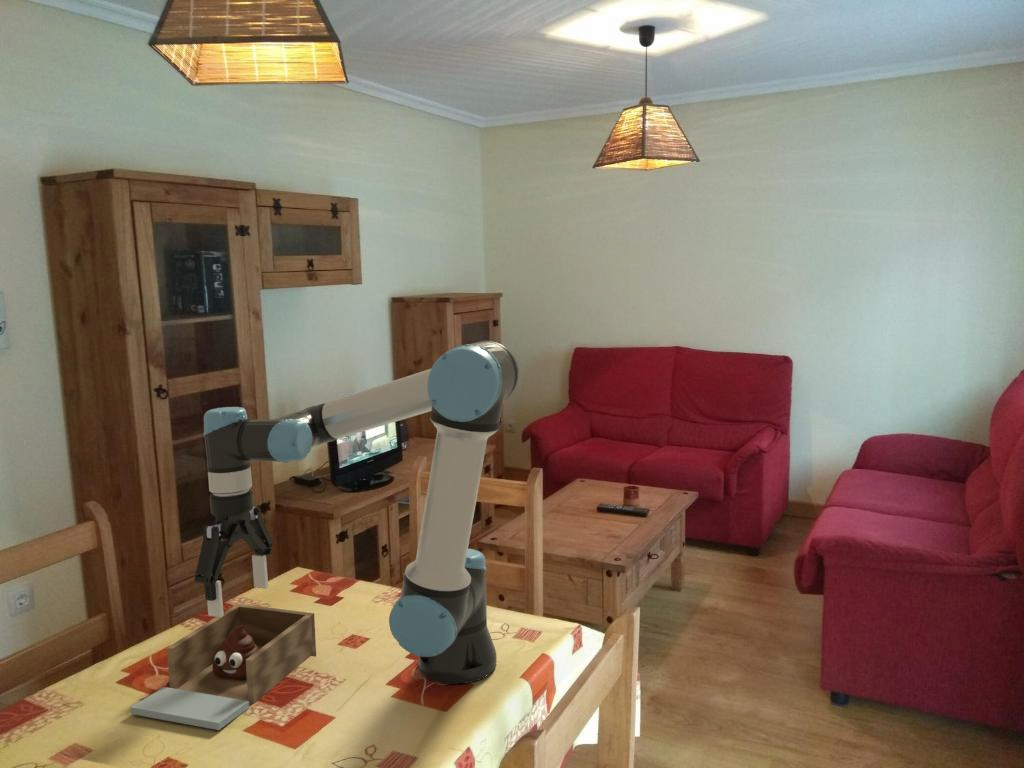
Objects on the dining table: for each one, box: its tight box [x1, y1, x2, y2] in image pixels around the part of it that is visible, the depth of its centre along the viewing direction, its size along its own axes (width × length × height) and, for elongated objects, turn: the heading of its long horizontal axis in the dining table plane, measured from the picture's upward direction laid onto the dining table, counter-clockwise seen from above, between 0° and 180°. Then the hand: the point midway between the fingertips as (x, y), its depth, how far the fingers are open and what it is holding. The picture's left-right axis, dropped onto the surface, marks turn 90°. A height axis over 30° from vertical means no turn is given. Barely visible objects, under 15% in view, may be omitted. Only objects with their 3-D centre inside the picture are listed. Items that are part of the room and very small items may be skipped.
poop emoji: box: [213, 625, 259, 680], centre depth 149 cm, size 10×8×9 cm
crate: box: [166, 603, 317, 704], centre depth 150 cm, size 20×18×9 cm
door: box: [130, 686, 250, 731], centre depth 136 cm, size 1×18×8 cm
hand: (239, 601), depth 148 cm, fingers open, 13 cm apart
